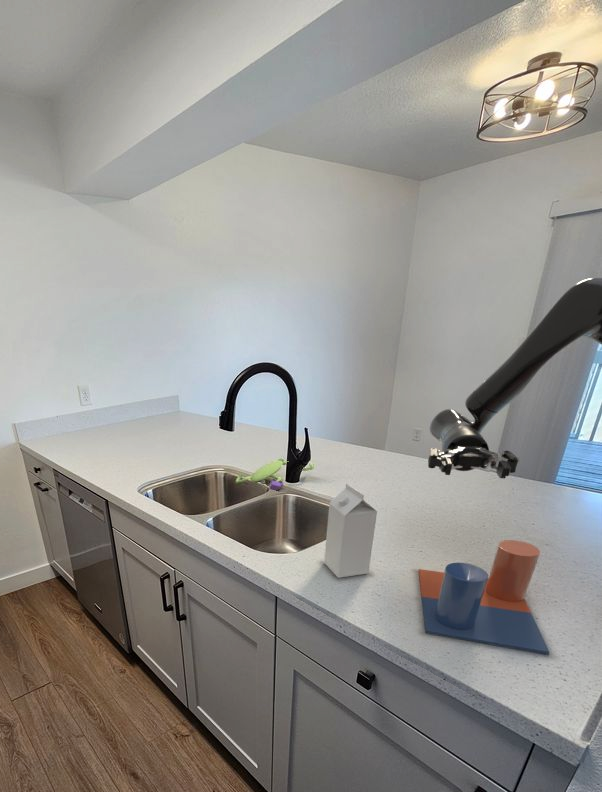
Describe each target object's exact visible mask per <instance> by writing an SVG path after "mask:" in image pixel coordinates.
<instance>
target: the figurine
mask: <svg viewBox="0 0 602 792" xmlns="http://www.w3.org/2000/svg"><path fill="white" fill-rule="evenodd" d="M287 462H288V461H285V458H279V459H277V460H273V461H271V462H269V463H266V464H265V465H263V466H261V467H259V468H258V469H257V470H256V471H254V473H252V474H251V475H249V476H245V477H244V478H243V474H242V473H240V474H239V475H238V476H237V478H236V479H235V484H236V485H241V484H243V483H245V482H246V481H249V480H250V481H251V482H253V483H255V484H257V483H259V482H260V484H262V485H265V484H266V479H268V478H272V479H271V480H270V483H268V486H269V490H272V491H279V490H281V489H282V488H283V487H284V482H283V481H282V478H281V477H279V476H277V475H275V474H276V473H278V471H280V469H281V468H282V466H288V465H287ZM308 465H309V467H303V469H302V471H301V472H306V471H312V470H314V468H315V466H314V462H310V463H308Z"/></svg>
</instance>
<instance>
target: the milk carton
mask: <svg viewBox="0 0 602 792" xmlns="http://www.w3.org/2000/svg"><path fill="white" fill-rule="evenodd" d="M364 497H365V494H364V493H362V492H361V491H359V490H357V489H356V488H355V487H353V486H352V485H350V484H348V483H345V488H344V489H342V491H340V492H339V494H338V495H336V496H335V497H334V498H333V499H332V500H331V501H330V502H329V505H328V515H327V526H326V537H325V540H326V541H325V548H324V558H323V559H324V562H323V563H324V564H325V566H326V567H327V568H328V569H329V570H330V571H331V572H332V574H334V575H335V576H336V577H337V578H338V579H340V578H347V577H354V576H359V575H367V574H369V571H370V565H371V564H370V563H371V558H372V557H371V555H372V550H373V543H374V535H375V528H376V522H377V514H378V511H377V510H376V509H375V508H374V507H373V506H371V504H369V503H368V502H367V501H365V500H364Z"/></svg>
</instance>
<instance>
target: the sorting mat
mask: <svg viewBox="0 0 602 792" xmlns="http://www.w3.org/2000/svg"><path fill="white" fill-rule="evenodd" d="M444 572H445V571H435V570H427V569H420V568H419V569H418V577H419V578H418V579H419V587H420V589H419V590H420V596H421V605H422V606H421V607H422V615H423V624H424V632H425V633H424V634H429V635H434V636H439V637H445V638H451V639H456V640H463V641H468V642H474V643H480V644H484V645H485V644H486V645H492V646H496V647H501V648H502V647H503V648H507V649H514V650H518V651H525V652H530V653H536V654H542V655H549V654H550V649H549V648H548V645H547V644H546V641H545V639H544V637H543V635H542V633H541V631H540V629H539V627H538V623H537V621H536V620H535V618H534V615H533V614H532V612H531V608H530V607H529V605H528V603H527V600H526V597H525V598H524V599H523V600H522V601H519V602H509V601H504V600H500V599H497V598H495V597H493V596H491V595H490V594H489V593H488V592H487V591H486V587H485V590H484V593H483V597H482V600H481V604H480V607H479V611H478V614H477V617H476V621H475V624H474V626H473V627H472V628H470V629H466V630H459V629H453V628H450V627H447V626H445V625H443V624H441V623H440V622H439V621H438V620H437V619H436V618H435V610H436V606H437V601H438V597H439V593H440V589H441V584H442V580H443V576H444ZM488 579H489V577H488ZM487 582H488V580H487ZM486 586H487V583H486Z"/></svg>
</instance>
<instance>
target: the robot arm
mask: <svg viewBox="0 0 602 792" xmlns="http://www.w3.org/2000/svg"><path fill="white" fill-rule="evenodd" d="M581 337H586V338H589V339H591V340H593V341H595V342H597V343H598V344H599V345H602V277H591V278H590V277H589V278H587V279H583V280H581V281H579V282H577V283H575V284H574V285H572V286H571V287H569V288H568V290H566V291H565V292H564V293H563V295H561V297H560V298H559V299H558V300H557V301H556V302H555V304H553V306H551V308H550V309H549V311H548V312H547V313H546V315H544V317H543V318H542V319H541V321H540V322H539V323H538V324H537V326H536V327H535V328H534V329H533V330H532V332H530V333H529V335H528V336H527V337H526V338H525V339H524V341H523V342H522V343H521V344H520V345H519V346H518V347H517V348H516V349H515V351H514V352H513V353H512V354H511V355H510V356H509V357H508V358H507V359H506V360H505V361H504V362H503V363H502V364H501V365H500V366H499V367H498V368H497V369H496V370H494V372H493V373H491V374H490V375H489V376H488V377H487V378H486V379H485V380H484V381H483V382H482V383H480V385H478V386H477V387H476V388H475V389H474V390H473V391H472V392H471V393H470V394H469V395H468V396H467V397H466V398H465V402H464V405H465V408H466V409H467V411H468V412H469V413H470V415H471V416H472V417H473V418H474V419H473V420H470V419H469V418H468V417H467V416H464V414H461V413H460V412H459V411H458V410H455V409H452V408H446V409H444V410H441V411H439V412H438V413H436V414H435V416H434V417H433V418H432V420H431V421H430V424H429V434H430V435H431V436H432V437H433V438H434V439H435V440H436V441H437V442H438V443H439V444H440V445H441V450H440V449H438V448H436V447H430V449H429V453H428V458H427V459H428V460H427V467H428V468H429V469H435V468H436V467H438V470H440V472H442V473H444V475H445V476H451V472H452V471H453V470H455V471H459V472H469V471H473V470H477V469H478V470H481V471H483V472H486V473H490V472H495V473H496V475H497V476H498V477H499V479H506V477H509V476H510V474H514V473H516V471H517V466H518V464H519V460H520V458H519V457H517V456H516V455H515V454H514V453H512V451H511V450H503V452H502V453H501V454H499V453H497V452H495V451H491V450H490V448H489V445H488V443H487V441H486V439H485V438H484V437H483V435H482V434H481V432H482V431H483V430H484V429H485V428H486V426H487V425H488V423H489V422H490V421H491V420H492V419H493V418H494V417H495V416H496V415H497V414H498V413H499V412H500V411H502V410H503V409H504V408H505V407H507V406H508V404H510V403H511V402H512V401H514V399H516V398H517V397H518V396H519V395H520V394H521V393H522V392H523V391H524V390H525V389H526V388H527V387H528V385H529V384H530V383H531V382H532V380H533V379H534V378H535V376H537V374H538V373H539V372H540V371H541V369H542V368H543V367H544V366H545V365H546V364H547V363H548V362H549V361H550V360H551V359H552V358H553V357H554V356H556V355H557V354H558V353H559V352H561V351H562V350H564V349H565V348H566V347H567V346H570V344H572V343H574V342H575V341H576V340H578V339H579V338H581ZM497 462H498V464H497Z"/></svg>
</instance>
